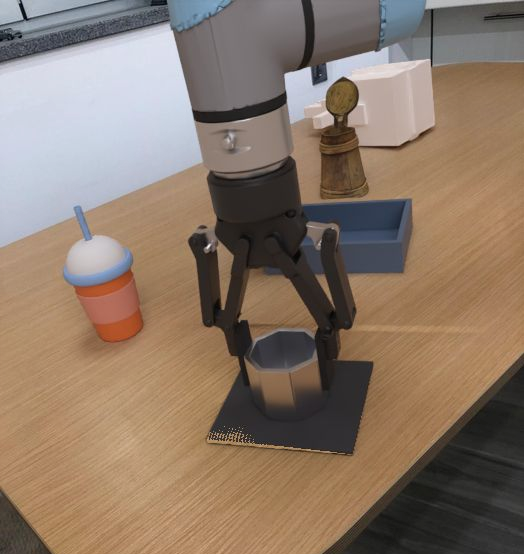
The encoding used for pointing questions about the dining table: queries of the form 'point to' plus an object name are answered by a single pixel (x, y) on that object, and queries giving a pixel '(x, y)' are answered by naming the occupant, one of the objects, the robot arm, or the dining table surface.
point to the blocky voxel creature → (386, 103)
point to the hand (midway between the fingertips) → (289, 379)
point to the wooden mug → (341, 146)
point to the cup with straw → (104, 283)
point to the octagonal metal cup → (285, 374)
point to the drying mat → (309, 432)
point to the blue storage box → (363, 235)
